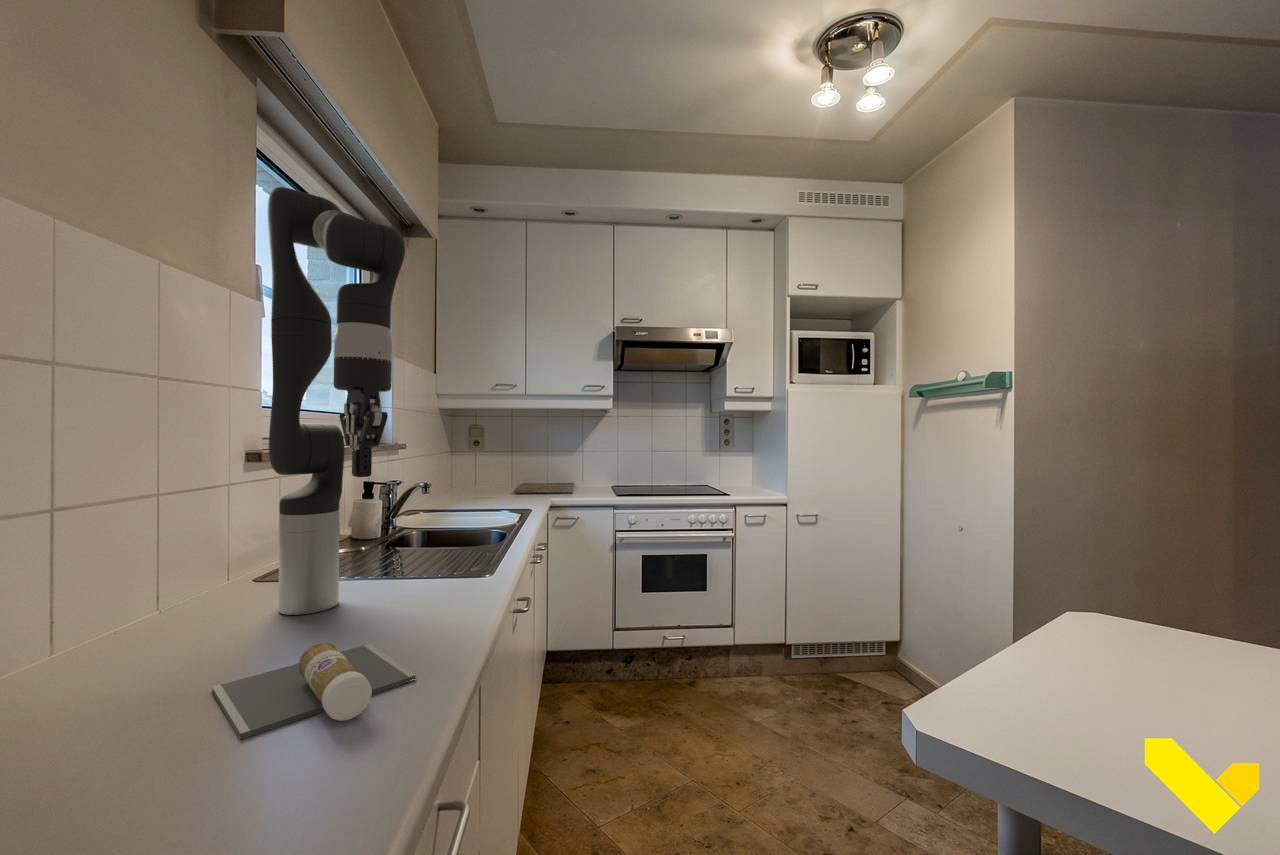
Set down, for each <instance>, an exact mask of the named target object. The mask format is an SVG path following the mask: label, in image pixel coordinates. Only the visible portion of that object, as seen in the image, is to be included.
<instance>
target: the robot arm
mask: <svg viewBox="0 0 1280 855" xmlns="http://www.w3.org/2000/svg"><path fill="white" fill-rule="evenodd" d="M268 196H269V197H268V201H267V229H268V240H269V249H270V262H271V263H270V264H271V312H270V313H271V320H270V321H271V322H270V324H271V326H270V327H271V328H270V330H271V336H270V337H271V353H272V355H271V357H272V359H271V360H272V394H271V395H272V397H271V408H270V409H271V411H270V420H269V421H270V422H269V434H268V435H269V436H268V456H269V461H270V465H271V467H272V469H273V471H274V472H275V473H277V474H278V475H281V476H295V475H311V474H312V475H311V479H310V480H309V482H308V483H307V484H306V485H304V486H303V487H301V488H300V489H298V490H296V491H292V492H291V493H288V494H286V495H284V496H282V497H281V499H280V501H279V506H278V507H279V508H278V509H279V510H278V511H279V514H278V515H279V521H278V524H279V526H278V528H279V531H278V532H279V534H278V535H279V537H278V540H279V542H278V543H279V544H278V545H279V546H278V547H279V548H278V554H279V555H278V613H280V614H283V615H289V616H292V615H293V616H294V615H296V616H298V615H307V614H313V613H314V614H315V613H319V612H322V611H323V612H324V611H326V610H329V609H332V608H334V607H336V606H337V605H338V604H339V597H340V596H339V594H340V593H339V587H340V585H339V584H340V501H341V498H342V494H343V493H342V492H343V483H344V482H343V479H344V465H345V445H346V447H349V450H350V451H351V452H352V453H351V476H353V477H356V478H368V477H371V475H372V468H373V467H372V462H373V457H372V456H373V451H374V450H375V447H376V448H377V447H379V445H380V443H381V439H382V436H383V435H384V434H383V433H384V430H385V427H386V425H387V420H388V418H389V416H388V412H387V411H382V408H383V407H382V404H381V398H380V393H386V392H390V391H391V389H392V380H393V379H392V375H393V373H392V372H393V370H392V369H393V341H392V333H391V332H392V330H391V324H392V323H391V322H392V320H391V319H392V318H391V316H392V314H391V312H392V310H391V309H392V300H393V296H394V291H395V287H396V283H397V281H398V276H399V274H400V271H401V268H402V267H403V263H404V259H405V256H406V246H405V245H406V244H405V242H404V240H403V237H402V235H401V234H400V233H399V232H398V231H397V230H396V229H395V228H392V227H390V226H387V225H384V224H383V225H382V224H380V223H377V222H376V223H375V222H373V221H369V220H366V219H361V218H358V217H356V216H354V215H352V214H349V213H346V212H344V211H342V210H341V208H340V207H339V206H338V205H337V204H335V203H334V202H332V201H331V200H329V199H327V198H324V197H323V196H318V195H314V194H310V193H307V192H304V191H300V190H296V189H293V188H288V187H285V186H276V187H273V189H272V190H271V191H270V193H269V195H268ZM295 244H297V245H302V246H306V247H309V248H310V247H311V248H313V249H322V250H324V251H325V254H326V258H328V259H329V261H330V262H333V263H334V264H336V265H340V266H342V267H346V268H351V269H357V270H360V271H366V272H368V273H373V279H372V280H371V282H362V283H361V282H351V283H345V284H343V285H341V286H340V287H339V288H338V290H337V296H336V326H335V328H336V329H335V334H334V342H333V341H332V335H333V334H332V318H331V317H332V316H331V315H330V311H329V310H328V307H327V306H326V304H325V303H324V301H323V299H322V298H321V296H320V295H319V293H318V292H317V291H316V289H315V288H314V286H313V285H312V284H311V282H310V280H309V279H308V277H307V276H306V274H305V273H304V270H303V269H302V266H301V264H300V262H299V259H298V257H297V256H298V255H297V252H296V249H295ZM332 342H333V345H332ZM333 346H334V347H333ZM332 347H333V387H334V389H336V390H338V391H346V392H347V395H346V402H345V403H344V404H343V412H340V414H339V420H340V424H341V429H342V430H341V429H340V427H338V426H337V425H336V424H334V423H328V422H327V423H325V422H323V423H322V422H320V423H319V422H300V421H301V420H300V418H301V416H300V414H301V407H302V402H303V399H304V397H305V395H306V392H307V391H308V388H309V387H310V385H311V384H312V382H314V380H315V379H316V377H317V376H318V375H319V373H321V371H322V369H323V368H324V366H325V365H326V364H327V362H328V360H329V358H330V356H331V354H332ZM344 440H345V441H344Z"/></svg>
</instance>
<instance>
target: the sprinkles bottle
mask: <svg viewBox="0 0 1280 855" xmlns="http://www.w3.org/2000/svg"><path fill="white" fill-rule="evenodd" d="M340 652H341V651H339V649H338V648H337V646H336V645H334V644H333V643H331V642H327V641H323V642H318V643H315V644H312V645H310V646H309V647H308V648H306V649H305V650H304V651H303V653H302V654H301V656H300V658H299V660H298V663H299V664H298V663H297V664H298V668H299V672H300V674H301V675H302V676H303V677H304V678H305V679H306V681H307V683H308V684H309V686H310V687H311V689H312V690H313V692H314V693H315V694H316V696H317V697H318V698H319V700H321V702H322V706H323V708H324V710H325V711H324V712H325V713H326V714H327V715H328V717H330V718H331V719H332V720H335V721H339V722H340V721H341V722H342V721H343V722H344V721H348V720H351V719H353V718H356V717H357V716H359V714H361V713H362V712H363V711H364V710H365V709H366V708H367V707H368V706H369V703H370V701H371V698H372V696H373V695H372V688H371V685H370V683H369V681H368V680H367V679H366V678H365V676H364V675H362V674H361V673H358V672H357V670H356V669H355V668H354V667H353V666H352V665H351V664H350V663H349V661H348V660H347V659H346V658H345V657H344V656H343V654H342V653H340Z"/></svg>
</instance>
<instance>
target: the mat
mask: <svg viewBox="0 0 1280 855" xmlns="http://www.w3.org/2000/svg"><path fill="white" fill-rule="evenodd" d="M339 652H340V653H342V654H343V656H344V657H345V658H346V659H347V660H348V661H349V663H350V664H351V665H352V666H353V667H354V668H355V669H356V670H357V672H358V673H361V674H362V675H364V676H365V678H366V679H367V680H368V681H369V683H370V685H371V688H372V695H371V696H373V695H375V694H379V693H382V692H384V690H385V691H388V690H390V689H389V688H391V689H393V688H392V687H394V686H397V685H399V686H401V685H400V684H402V683H405V682H407V681H410V680H412V679H415V680H416V674H415V673H413V672H412V671H410V670H409V669H407V668H406V667H405V666H403V665H401V664H400V663H399V662H397V661H395V660H394V659H393V658H391V657H390V656H388V655H386V654H385V653H384V652H382V651H381V650H379V649H377V648H376V647H374V646H373V645H372V644H370V643H367V644H364V645H361V646H356V647H354V648H349V649H346V650H342V651H339ZM298 664H299V662H298V663H295V664H291V665H288V666H284V667H280V668H277V669H274V670H269V671H266V672H262V673H259V674H255V675H251V676H247V677H244V678H240V679H236V680H231V681H229V682H226V683H222V684H217V685H213V686H212V687H211V692H212V695H213V697H215V699H216V702H217V703H218V705H219V706H220V708H221V710H222V711H223V713H224V715H225V716H226V718H227V720H228V722H229V723H230V725H231V726H232V728H233V730H234V732H235V733H236V735H237V737H238V738H239V740H240V741H241V740H244V739H247V738H251V737H252V736H256V735H259V734H261V733H265V732H267V731H270V730H273V729H276V728H279V727H282V726H285V725H288V724H291V723H294V722H296V721H300V720H303V719H305V718H309V717H311V716H315V715H317V714H320V713H323V712H326V711H325V710H324V708H323V706H322V702H321V700H319V698H318V697H317V696H316V694H315V693H314V692H313V690H312V689H311V687H310V686H309V684H308V683H307V681H306V679H305V678H304V677H303V676H302V675H301V674H300V672H299V668H298ZM405 684H406V683H405ZM402 685H403V684H402ZM397 687H398V686H397ZM394 688H395V687H394ZM387 689H388V690H387ZM381 691H382V692H381Z"/></svg>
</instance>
